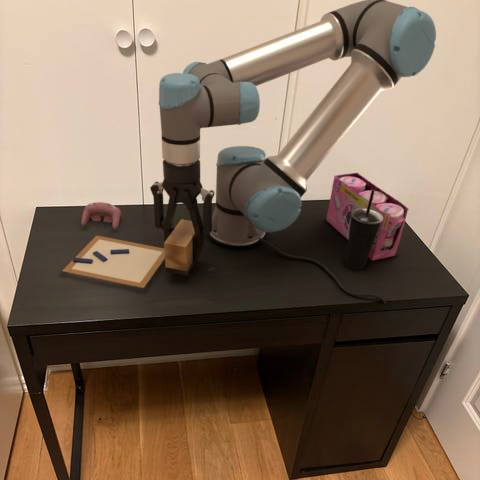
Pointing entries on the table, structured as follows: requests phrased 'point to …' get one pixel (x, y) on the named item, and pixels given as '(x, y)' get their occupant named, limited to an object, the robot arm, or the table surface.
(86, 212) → the video game controller
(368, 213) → the drinking cup
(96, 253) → the stroke
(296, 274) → the table surface
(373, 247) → the gum box
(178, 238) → the eraser
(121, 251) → the stroke
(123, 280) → the board
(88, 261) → the stroke
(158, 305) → the table surface
